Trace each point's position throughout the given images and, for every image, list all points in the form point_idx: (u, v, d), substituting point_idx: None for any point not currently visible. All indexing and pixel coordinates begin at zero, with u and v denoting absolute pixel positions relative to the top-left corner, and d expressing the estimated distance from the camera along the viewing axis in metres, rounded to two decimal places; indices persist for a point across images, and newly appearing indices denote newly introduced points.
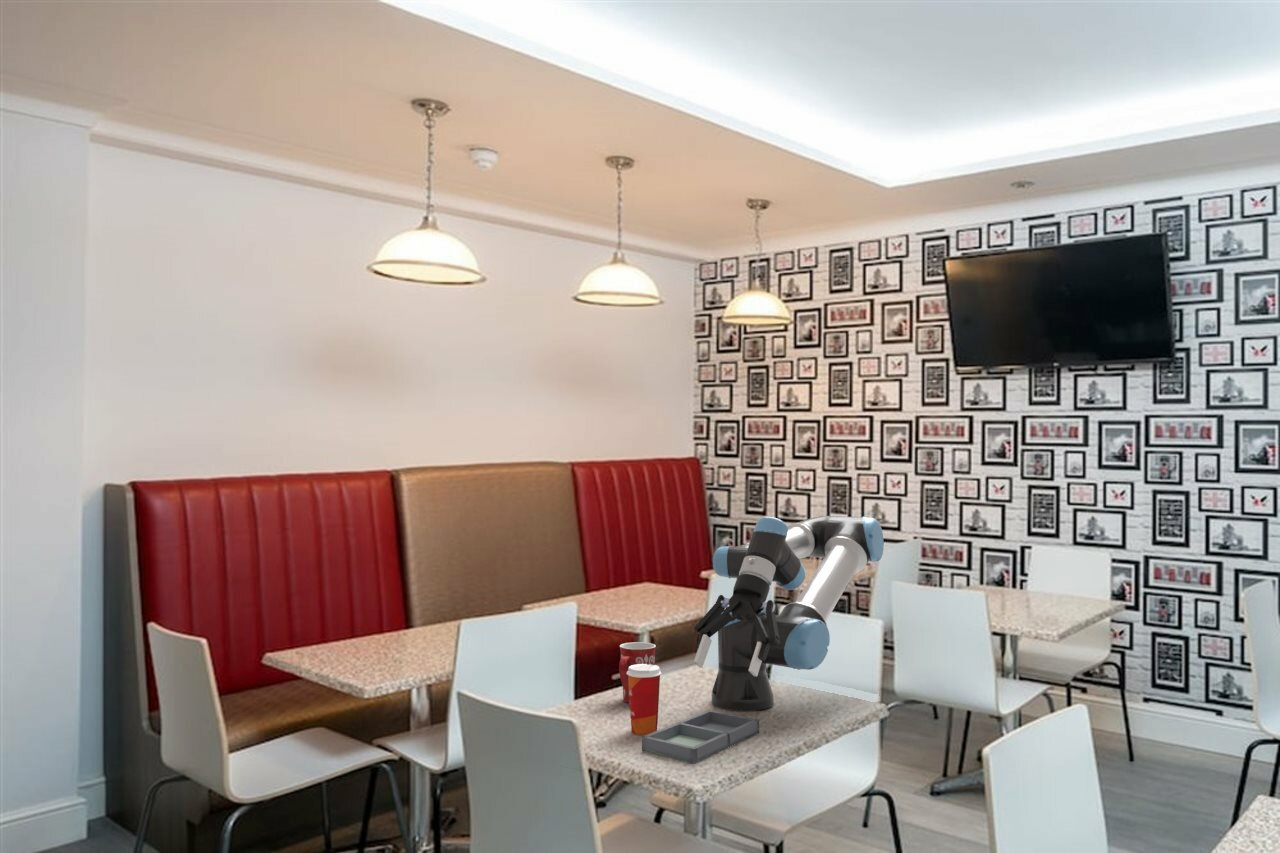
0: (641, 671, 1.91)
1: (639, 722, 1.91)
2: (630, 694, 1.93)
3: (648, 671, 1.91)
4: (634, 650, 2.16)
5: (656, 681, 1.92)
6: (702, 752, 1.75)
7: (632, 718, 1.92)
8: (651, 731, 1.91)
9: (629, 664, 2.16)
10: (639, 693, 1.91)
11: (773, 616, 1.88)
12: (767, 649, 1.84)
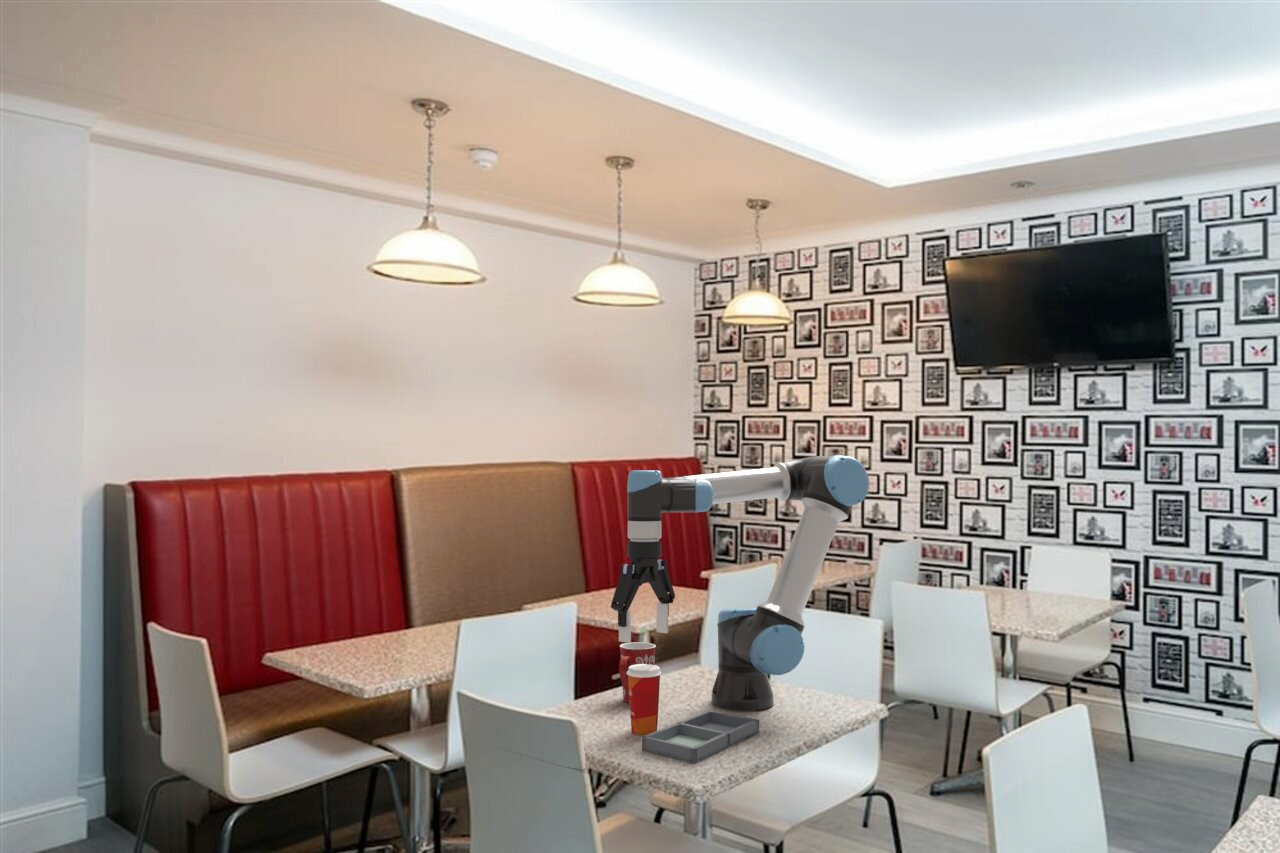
0: (641, 671, 1.91)
1: (639, 722, 1.91)
2: (630, 694, 1.93)
3: (648, 671, 1.91)
4: (634, 650, 2.16)
5: (656, 681, 1.92)
6: (702, 752, 1.75)
7: (632, 718, 1.92)
8: (651, 731, 1.91)
9: (629, 664, 2.16)
10: (639, 693, 1.91)
11: (620, 581, 1.89)
12: (621, 615, 1.88)
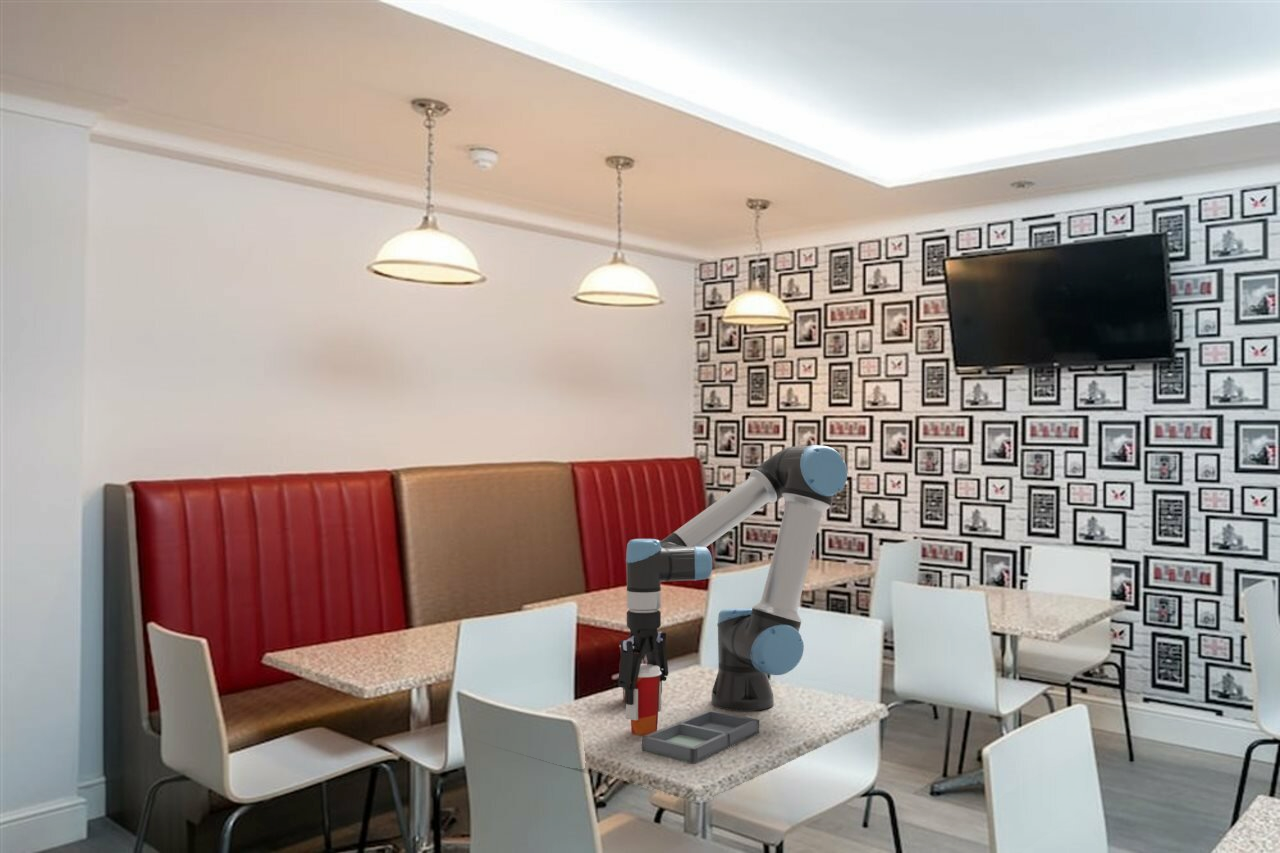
0: (641, 671, 1.91)
1: (639, 722, 1.91)
2: None
3: (648, 671, 1.91)
4: None
5: (656, 681, 1.92)
6: (702, 752, 1.75)
7: None
8: (651, 731, 1.91)
9: None
10: (639, 693, 1.91)
11: (623, 658, 1.89)
12: (628, 693, 1.89)
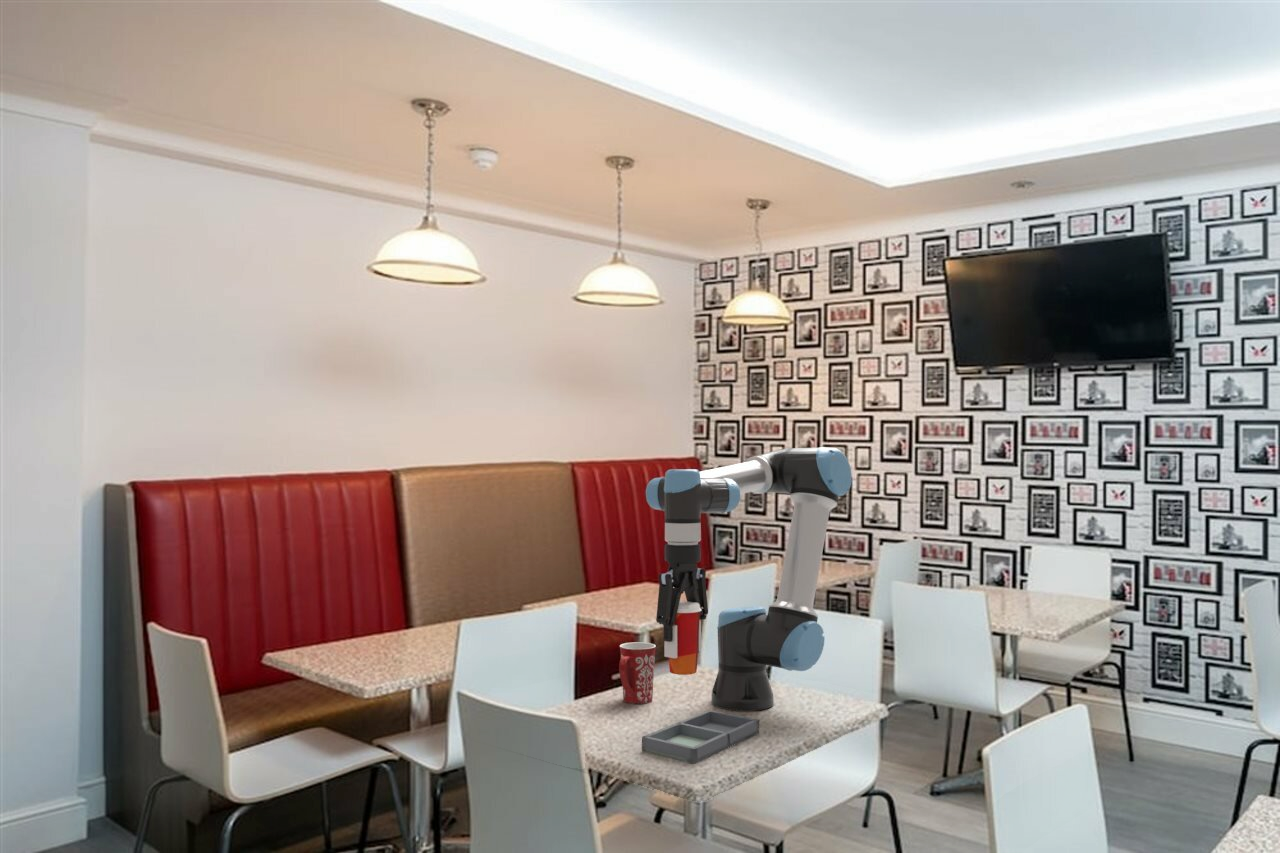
0: (680, 606, 1.81)
1: (678, 661, 1.80)
2: None
3: (688, 606, 1.80)
4: (634, 650, 2.16)
5: (696, 617, 1.81)
6: (702, 752, 1.75)
7: None
8: (691, 670, 1.81)
9: (629, 664, 2.16)
10: (678, 630, 1.80)
11: (661, 592, 1.79)
12: (666, 629, 1.79)
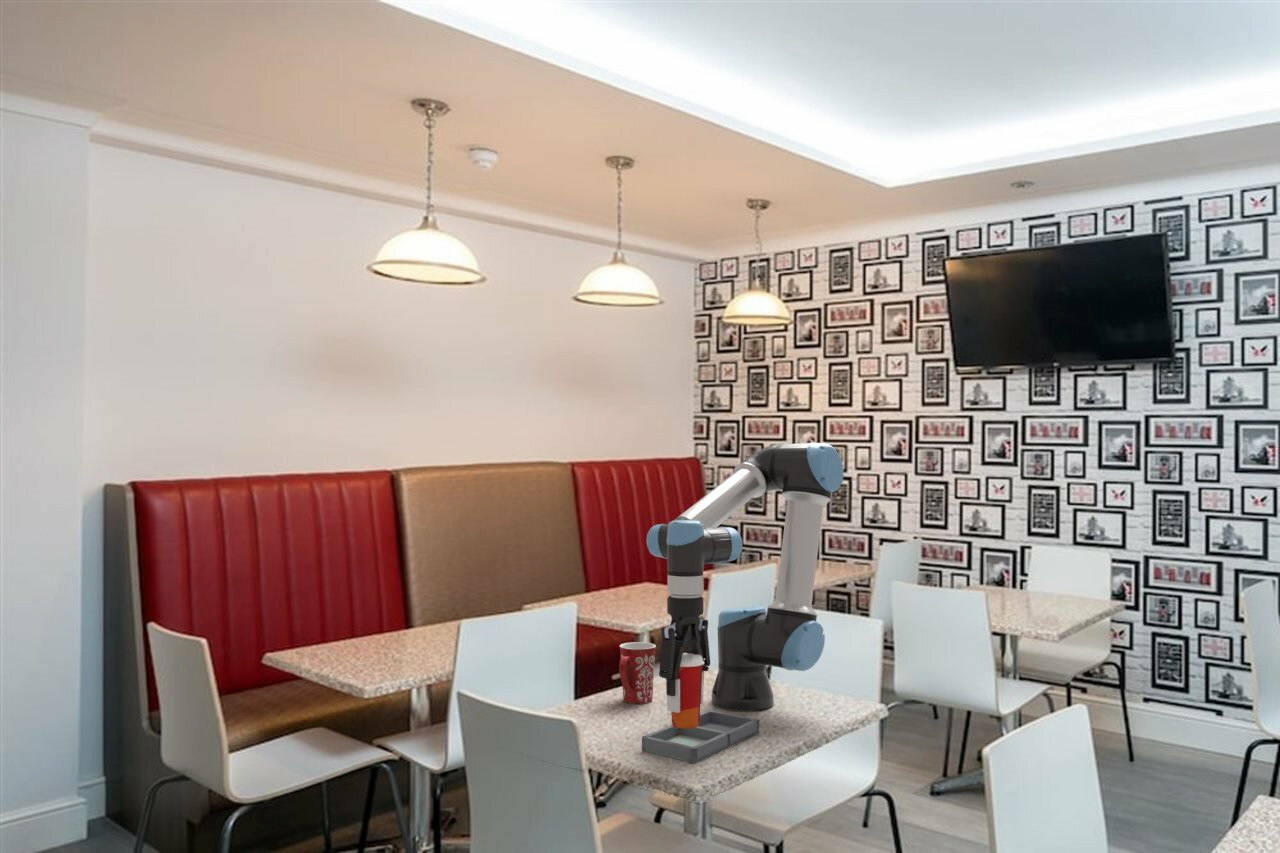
0: (683, 660, 1.80)
1: (681, 715, 1.79)
2: None
3: (691, 660, 1.80)
4: (634, 650, 2.16)
5: (698, 670, 1.80)
6: (702, 752, 1.75)
7: None
8: (693, 724, 1.80)
9: (629, 664, 2.16)
10: (681, 683, 1.79)
11: (664, 646, 1.78)
12: (669, 684, 1.78)
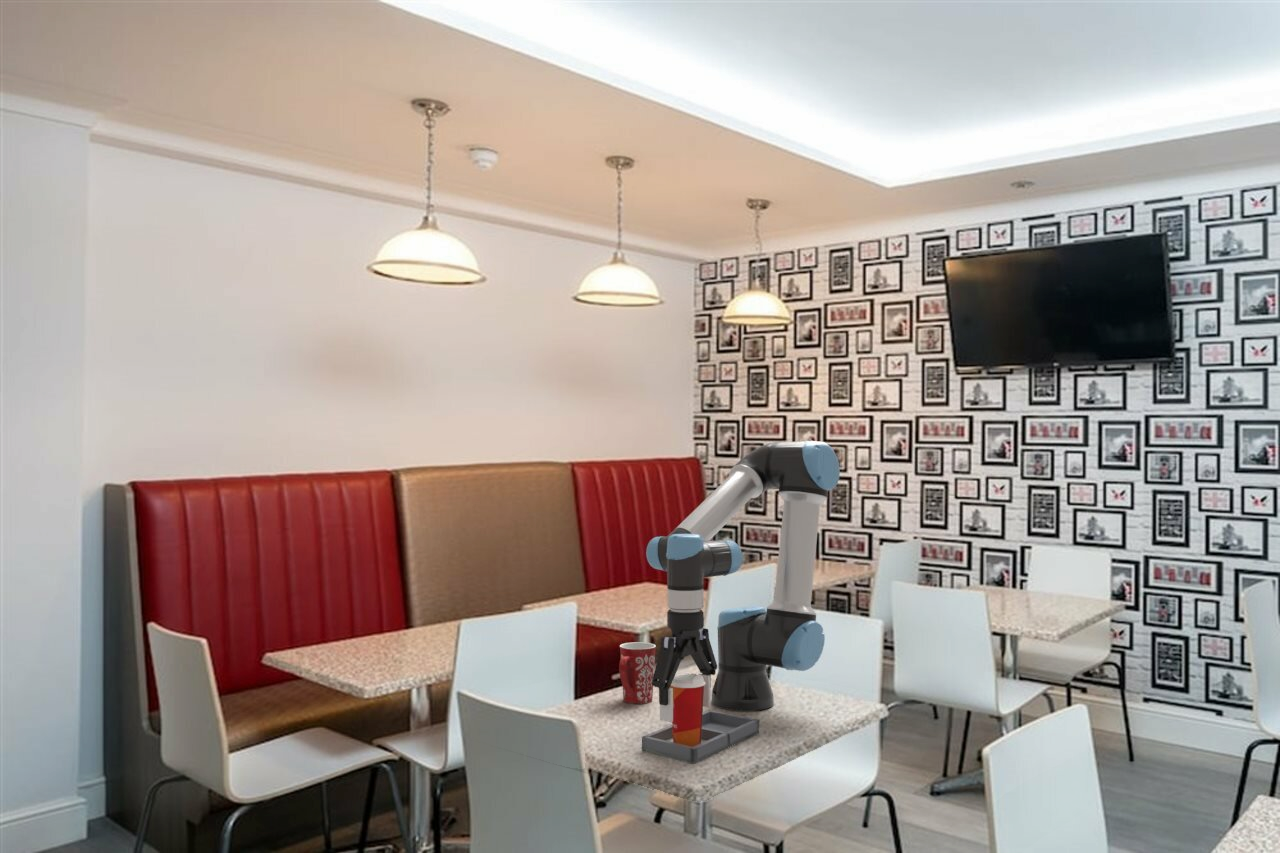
0: (684, 681, 1.79)
1: (683, 736, 1.79)
2: None
3: (692, 681, 1.79)
4: (634, 650, 2.16)
5: (700, 691, 1.80)
6: (702, 752, 1.75)
7: (674, 731, 1.81)
8: (695, 745, 1.80)
9: (629, 664, 2.16)
10: (682, 704, 1.79)
11: (661, 655, 1.77)
12: (662, 693, 1.76)
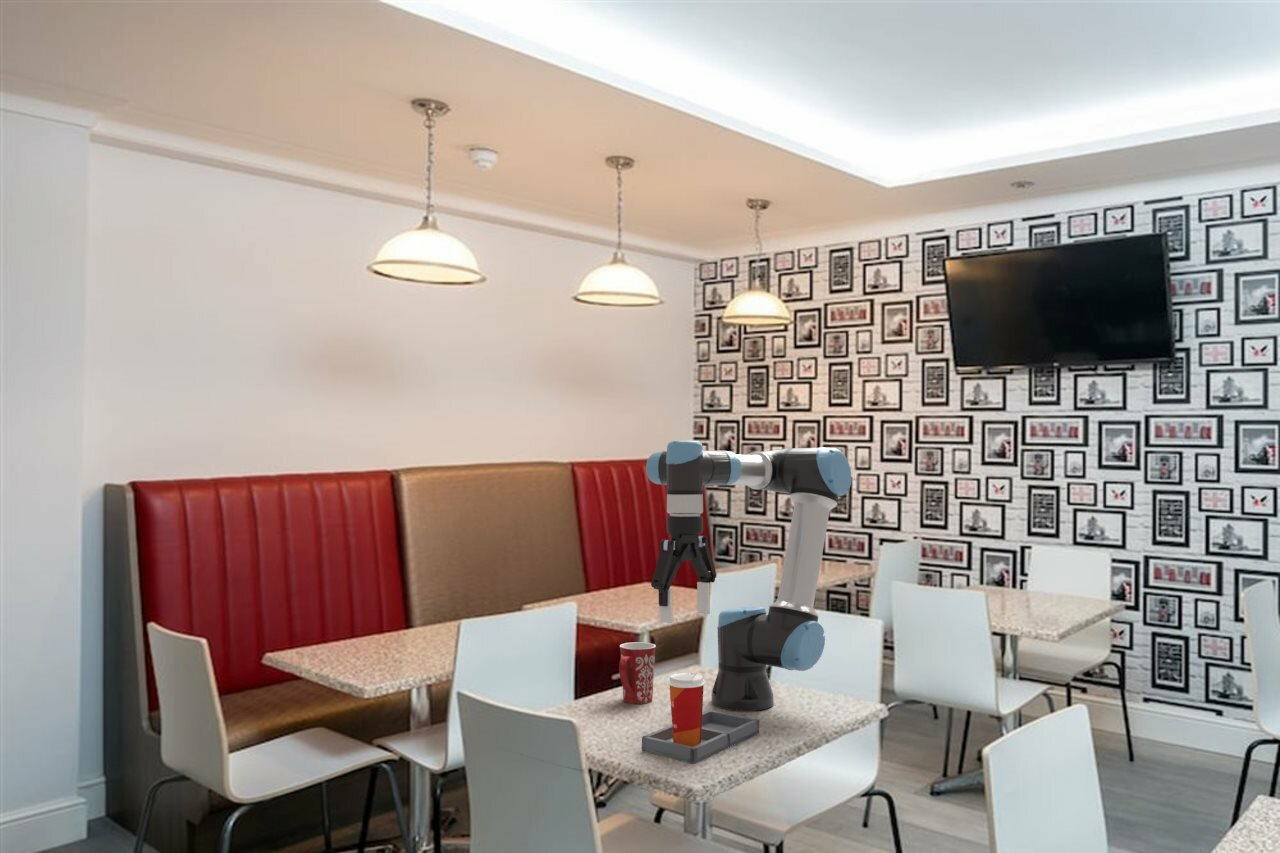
0: (684, 681, 1.80)
1: (682, 736, 1.79)
2: (672, 705, 1.81)
3: (691, 681, 1.80)
4: (634, 650, 2.16)
5: (699, 691, 1.80)
6: (702, 752, 1.75)
7: (674, 731, 1.81)
8: (695, 745, 1.80)
9: (629, 664, 2.16)
10: (682, 704, 1.79)
11: (661, 558, 1.78)
12: (662, 594, 1.77)
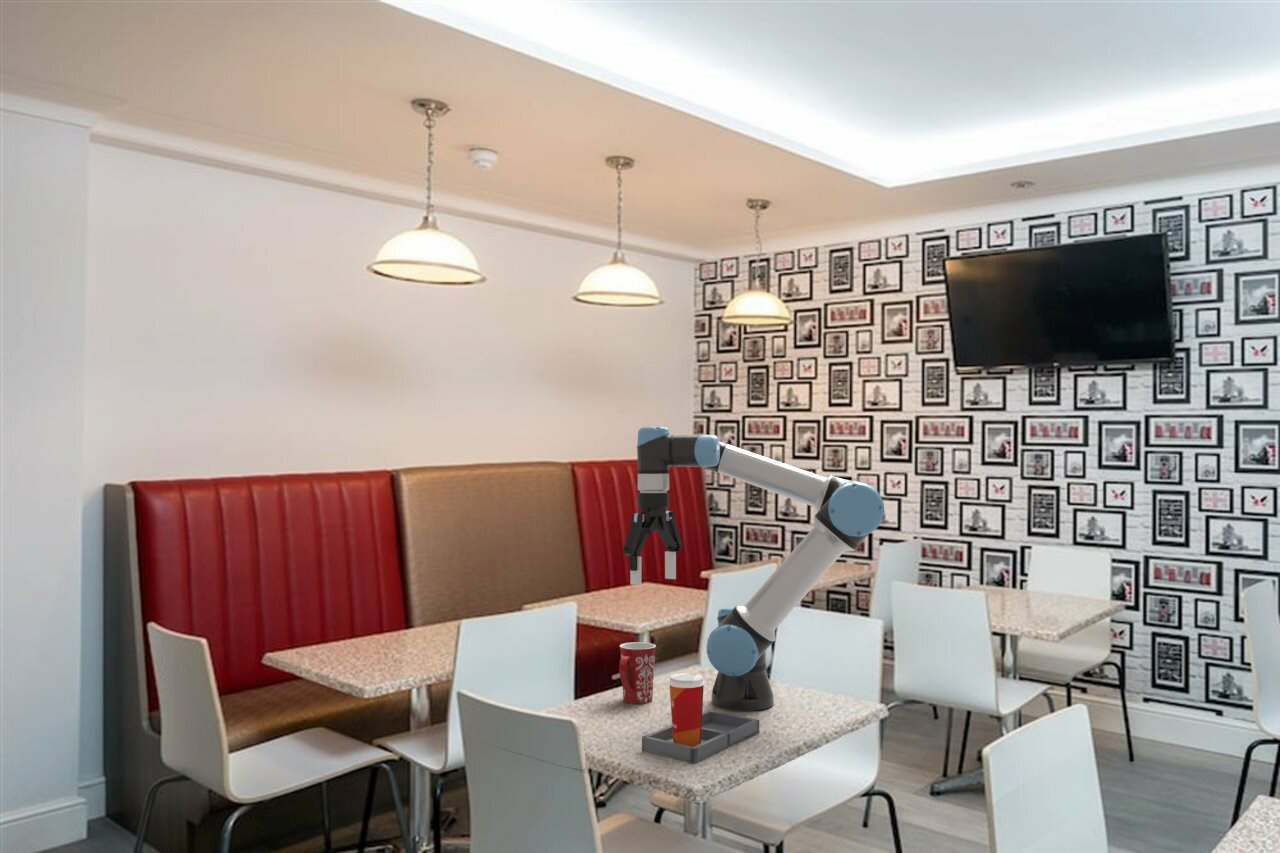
0: (684, 681, 1.79)
1: (683, 736, 1.79)
2: (672, 705, 1.81)
3: (691, 681, 1.79)
4: (634, 650, 2.16)
5: (699, 691, 1.80)
6: (702, 752, 1.75)
7: (674, 731, 1.81)
8: (695, 745, 1.80)
9: (629, 664, 2.16)
10: (682, 704, 1.79)
11: (631, 528, 2.04)
12: (632, 560, 2.03)
